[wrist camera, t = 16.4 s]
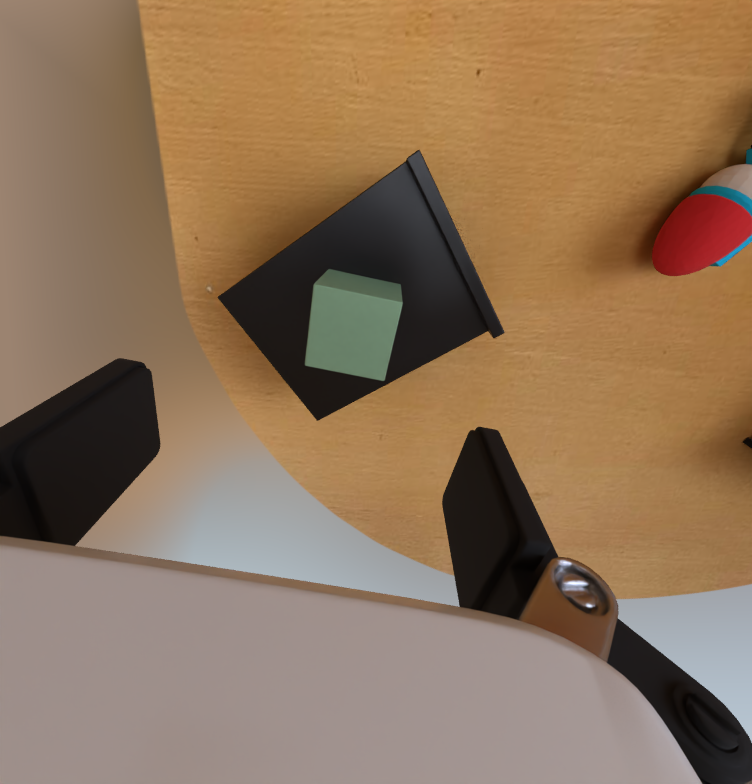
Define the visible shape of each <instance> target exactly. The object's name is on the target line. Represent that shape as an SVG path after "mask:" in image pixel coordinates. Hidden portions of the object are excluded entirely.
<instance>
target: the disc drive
mask: <svg viewBox="0 0 752 784" xmlns="http://www.w3.org/2000/svg"><path fill="white" fill-rule="evenodd" d="M743 443H744V444H746V445H747V446H749V447H750V448H752V439H750V438H747V439H745V440H744V441H743Z"/></svg>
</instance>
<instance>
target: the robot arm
mask: <svg viewBox="0 0 752 784" xmlns="http://www.w3.org/2000/svg"><path fill="white" fill-rule="evenodd" d="M159 449H160V437H159V429H158V421H157V413H156V405H155V397H154V388H153V381H152V374H151V371H150V370H149V369H147V368H146V366H145V364H144V363H142V362H138V361H133V360H127V359H121V358H119V359H116V360H114V361H113V362H111V363H109V364H107V365H106V366H104V367H102V368H101V369H99V370H97V371H95V372H94V373H92V374H90V375H89V376H87V377H85V378H84V379H82V380H80V381H78V382H77V383H75V384H73V385H72V386H70V387H68V388H67V389H65V390H63V391H61V392H60V393H58V394H56V395H55V396H53V397H51V398H50V399H48V400H46V401H44V402H43V403H41V404H39V405H38V406H36V407H34V408H33V409H31V410H29V411H28V412H26V413H24V414H23V415H21V416H19V417H17V418H16V419H14V420H12V421H11V422H9V423H7V424H5V425H4V426H2V427H0V784H752V743H751V740H750V738H749V736H748V735H747V734H746V732H745V730H744V729H743V727H742V726H741V724H740V723H739V721H738V720H737V719H736V718H735V716H734V715H733V714H732V713H731V712H730V711H729V710H728V708H727V707H726V706H725V705H724V704H723V703H722V702H721V701H720V700H718V699H717V698H716V697H715V696H714V695H713V694H712V693H711V692H710V691H708V690H707V689H706V688H705V687H703V686H702V685H701V684H699V683H698V682H697V681H696V680H695V679H693V678H692V677H691V676H690V675H688V674H687V673H686V672H685V671H683V670H682V669H681V668H680V667H678V666H677V665H676V664H674V663H673V662H672V661H671V660H669V659H668V658H667V657H666V656H664V655H663V654H662V653H661V652H659V651H658V650H657V649H656V648H654V647H653V646H652V645H651V644H649V643H648V642H647V641H646V640H644V639H643V638H642V637H641V636H639V635H638V634H637V633H635V632H634V631H633V630H631V629H630V628H629V627H628V626H627V625H625V624H624V623H623V622H622V621H620V620H619V619H618V604H617V601H616V598H615V595H614V594H613V592H612V591H611V589H610V588H609V586H608V585H607V584H606V583H605V581H604V580H603V579H602V578H601V577H600V576H599V575H598V574H597V573H595V572H594V571H593V570H592V569H590V568H589V567H588V566H586V565H584V564H582V563H581V562H579V561H576V560H573V559H570V558H565V557H558V555H557V553H556V551H555V549H554V547H553V545H552V542H551V540H550V538H549V536H548V534H547V532H546V530H545V528H544V525H543V523H542V521H541V519H540V517H539V515H538V513H537V511H536V508H535V506H534V504H533V502H532V500H531V498H530V496H529V494H528V491H527V489H526V487H525V485H524V483H523V482H522V480H521V478H520V476H519V474H518V471H517V469H516V467H515V465H514V463H513V461H512V459H511V456H510V454H509V452H508V450H507V448H506V446H505V444H504V442H503V439H502V437H501V435H500V433H499V431H498V430H494V429H489V428H484V427H477V428H476V430H475V431H474V430H471V431H470V432H469V433H468V436H467V438H466V440H465V443H464V445H463V448H462V450H461V453H460V455H459V458H458V460H457V463H456V465H455V467H454V470H453V472H452V475H451V477H450V480H449V482H448V485H447V487H446V490H445V492H444V495H443V501H442V505H443V512H444V517H445V523H446V529H447V535H448V541H449V546H450V552H451V558H452V564H453V570H454V575H455V581H456V587H457V593H458V599H459V605H460V607H456V606H451V605H446V604H440V603H434V602H428V601H423V600H417V599H412V598H406V597H400V596H393V595H387V594H381V593H375V592H369V591H362V590H356V589H350V588H344V587H338V586H331V585H324V584H318V583H312V582H306V581H300V580H294V579H287V578H281V577H274V576H268V575H262V574H255V573H248V572H242V571H236V570H229V569H223V568H216V567H210V566H203V565H197V564H190V563H184V562H177V561H171V560H164V559H158V558H151V557H143V556H138V555H131V554H124V553H117V552H111V551H103V550H97V549H90V548H84V547H77V546H75V545H76V544H77V543H78V542H79V540H81V538H82V537H83V536H84V535H85V534H86V533H87V532H88V531H89V530H90V529H91V527H92V526H93V525H94V524H95V523H96V522H97V521H98V520H99V518H100V517H101V516H102V515H103V514H104V513H105V512H106V511H107V510H108V509H109V507H110V506H111V505H112V504H113V503H114V502H115V501H116V500H117V499H118V498H119V496H120V495H121V494H122V493H123V492H124V491H125V490H126V489H127V488H128V487H129V485H130V484H131V483H132V482H133V481H134V480H135V478H137V477H138V476H139V474H140V473H141V472H142V471H143V470H144V469H145V468H146V467H147V465H148V464H149V463H150V462H151V461H152V460H153V459H154V458H155V457H156V455H157V454H158V452H159Z"/></svg>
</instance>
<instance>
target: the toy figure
mask: <svg viewBox="0 0 752 784" xmlns="http://www.w3.org/2000/svg"><path fill="white" fill-rule="evenodd" d="M750 242H752V145H751V148H750V149H748V150H747V153H746V164H741V165H735V166H731V167H728V168H725V169H722V170H720V171H718V172H717V173H715V174H713V175H712V176H711V177H709V178H708V179H707V180H706V181H705V182H704V183H703V184H702V185H701V187H700V188H698V189H696V190H695V191H693V192H692V193H691V194H690V195H689V197H687V198H685V199H684V200H683V201H682V202H681V203H680V204H679V205H678V206H677V207H676V208H675V209H674V211H673V212H672V213H671V214H670V216H669V217H668V218H667V220H666V221H665V223H664V225H663V226H662V228H661V229H660V231H659V233H658V235H657V238H656V240H655V243H654V247H653V250H652V261H653V265H654V267H655V269H656V270H657V271H658V272H660V273H661V274H664V275H668V276H680V275H686V274H690V273H693V272H696V271H699V270H701V269H703V268H705V267H707V266H722V265H723V264H724V263H726V262H727V261H728V260H729V259H730V258H732V257H733V256H734V255H735V254H737V253H738V252H739V251H740V250H742V249H743V248H744V247H745V246H747V245H748V244H749V243H750Z"/></svg>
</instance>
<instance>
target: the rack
mask: <svg viewBox="0 0 752 784" xmlns="http://www.w3.org/2000/svg"><path fill="white" fill-rule="evenodd" d="M328 269H331V270H336V271H341V272H345V273H350V274H355V275H359V276H364V277H369V278H373V279H378V280H383V281H387V282H392V283H397V284H400V285H401V292H402V302H403V304H402V309H401V313H400V317H399V321H398V326H397V330H396V334H395V338H394V342H393V347H392V351H391V355H390V359H389V364H388V368H387V372H386V376H385V380H384V381H381V380H376V379H371V378H366V377H361V376H356V375H351V374H346V373H340V372H335V371H330V370H325V369H320V368H315V367H310V366H305V357H306V348H307V339H308V330H309V321H310V312H311V303H312V294H313V285H314V283H315V282H316V281H317V280H318V279H319V278H320V277H321V276H322V275H323V274H324V273H325V272H326V271H327V270H328ZM218 299H219V300H220V301H221V302H222V304H223V305H224V306H225V307H226V308H227V310H228V311H229V312H230V313H231V315H232V316H233V317H234V318H235V320H236V321H237V322H238V323H239V325H240V326H241V327H242V328H243V329H244V331H245V332H246V333H247V334H248V336H249V337H250V338H251V339H252V341H253V342H254V343H255V344H256V346H257V347H258V348H259V349H260V350H261V352H262V353H263V354H264V355H265V357H266V358H267V359H268V360H269V362H270V363H271V364H272V365H273V367H274V368H275V369H276V370H277V371H278V373H279V374H280V375H281V376H282V378H283V379H284V380H285V381H286V383H287V384H288V385H289V386H290V388H291V389H292V390H293V391H294V392H295V394H296V395H297V396H298V397H299V399H300V400H301V401H302V402H303V404H304V405H305V406H306V407H307V409H308V410H309V411H310V412H311V413H312V415H313V416H314V417H315V418H316V420H317V421H318V420H320V419H322V418H324V417H326V416H328V415H329V414H331V413H333V412H335V411H337V410H339V409H341V408H343V407H345V406H347V405H348V404H350V403H352V402H354V401H356V400H358V399H360V398H362V397H364V396H366V395H367V394H369V393H371V392H373V391H375V390H377V389H379V388H381V387H383V386H385V385H386V384H388V383H390V382H392V381H394V380H396V379H398V378H400V377H402V376H403V375H405V374H407V373H409V372H411V371H413V370H415V369H417V368H419V367H421V366H422V365H424V364H426V363H428V362H430V361H432V360H434V359H436V358H438V357H440V356H441V355H443V354H445V353H447V352H449V351H451V350H453V349H455V348H457V347H459V346H460V345H462V344H464V343H466V342H468V341H470V340H472V339H474V338H476V337H477V336H479V335H481V334H483V333H485V332H487V331H488V332H489V333H490V334H491V336H492V337H493V338H496V337H498V336H500V335H502V334H503V333H504V330H503V328H502V326H501V324H500V321H499V319H498V317H497V315H496V313H495V311H494V309H493V306H492V304H491V302H490V300H489V298H488V296H487V293H486V291H485V289H484V287H483V285H482V283H481V281H480V278H479V276H478V274H477V272H476V270H475V268H474V266H473V263H472V261H471V259H470V257H469V255H468V253H467V251H466V248H465V246H464V244H463V242H462V240H461V238H460V236H459V233H458V231H457V229H456V227H455V225H454V223H453V221H452V218H451V216H450V214H449V212H448V210H447V208H446V205H445V203H444V201H443V199H442V197H441V195H440V193H439V190H438V188H437V186H436V184H435V182H434V180H433V178H432V175H431V173H430V171H429V169H428V167H427V165H426V163H425V160H424V158H423V156H422V154H421V152H420V150H418V151H416V152H415V153H413V154H412V155H411V156H409V157H408V158H407V160H406V162H404V163H403V164H401V165H400V166H399V167H397V168H396V169H395V170H393V171H392V172H390V173H389V174H388V175H386V176H385V177H383V178H382V179H381V180H379V181H378V182H377V183H375V184H374V185H372V186H371V187H370V188H368V189H367V190H365V191H364V192H363V193H361V194H360V195H358V196H357V197H356V198H354V199H353V200H352V201H350V202H349V203H347V204H346V205H345V206H343V207H342V208H340V209H339V210H338V211H336V212H335V213H334V214H332V215H331V216H329V217H328V218H327V219H325V220H324V221H322V222H321V223H320V224H318V225H317V226H316V227H314V228H313V229H311V230H310V231H309V232H307V233H306V234H304V235H303V236H302V237H300V238H299V239H297V240H296V241H295V242H293V243H292V244H291V245H289V246H288V247H286V248H285V249H284V250H282V251H281V252H279V253H278V254H277V255H275V256H274V257H273V258H271V259H270V260H268V261H267V262H266V263H264V264H263V265H261V266H260V267H259V268H257V269H256V270H255V271H253V272H252V273H250V274H249V275H248V276H246V277H245V278H243V279H242V280H241V281H239V282H238V283H236V284H235V285H234V286H232V287H231V288H230V289H228V290H227V291H225V292H224V293H223V294H221V295H220V296H218Z"/></svg>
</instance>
